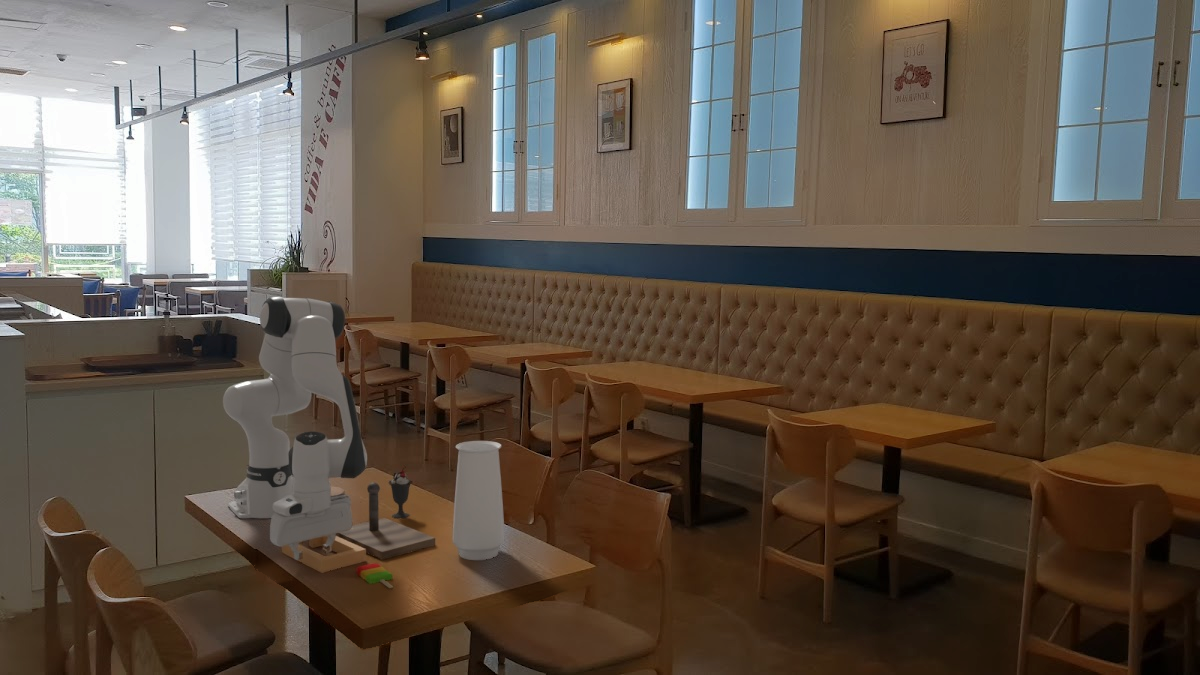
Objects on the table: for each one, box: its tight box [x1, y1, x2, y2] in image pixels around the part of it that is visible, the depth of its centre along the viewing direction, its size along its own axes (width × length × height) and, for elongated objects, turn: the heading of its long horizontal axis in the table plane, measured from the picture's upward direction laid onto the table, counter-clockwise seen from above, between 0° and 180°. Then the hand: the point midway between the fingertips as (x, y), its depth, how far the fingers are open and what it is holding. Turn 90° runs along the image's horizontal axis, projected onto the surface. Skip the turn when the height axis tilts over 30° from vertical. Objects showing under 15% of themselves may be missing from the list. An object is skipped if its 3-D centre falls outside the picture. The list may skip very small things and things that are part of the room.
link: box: [281, 536, 367, 574], centre depth 230 cm, size 20×12×3 cm, turn 46°
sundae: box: [388, 465, 413, 519], centre depth 265 cm, size 7×7×15 cm
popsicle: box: [356, 563, 394, 589], centre depth 216 cm, size 6×15×2 cm, turn 36°
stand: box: [336, 482, 436, 560], centre depth 242 cm, size 24×16×15 cm, turn 46°
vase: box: [452, 440, 505, 561], centre depth 233 cm, size 13×13×28 cm
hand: (312, 555), depth 225 cm, fingers open, 6 cm apart
